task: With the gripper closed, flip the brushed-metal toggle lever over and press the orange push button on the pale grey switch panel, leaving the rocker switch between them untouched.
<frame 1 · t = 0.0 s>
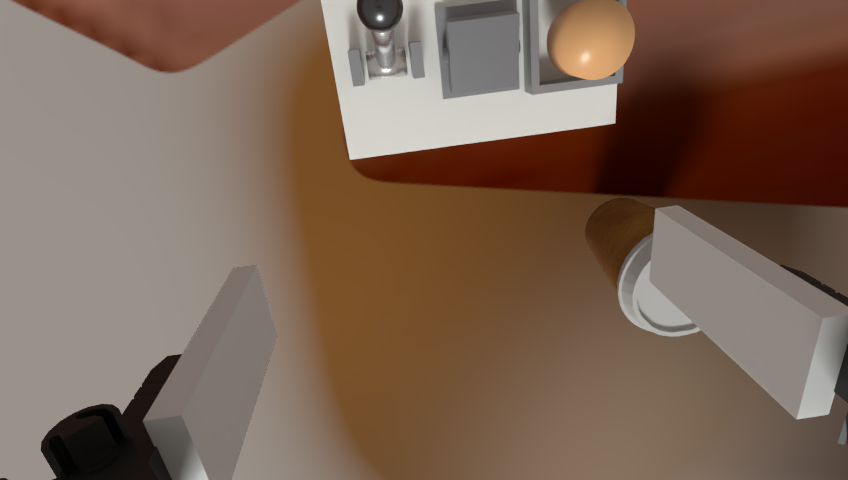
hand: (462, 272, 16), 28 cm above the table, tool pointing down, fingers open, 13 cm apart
toggle lever: (383, 38, 31), point 8 cm above the table, hinge at -25.0°
rocker switch: (482, 52, 36), point 5 cm above the table, hinge at 12.0°
disposable coffee cup: (615, 227, 48), on the table
switch panel: (470, 48, 40), on the table
push button: (589, 39, 34), point 7 cm above the table, slide at 0.0 cm
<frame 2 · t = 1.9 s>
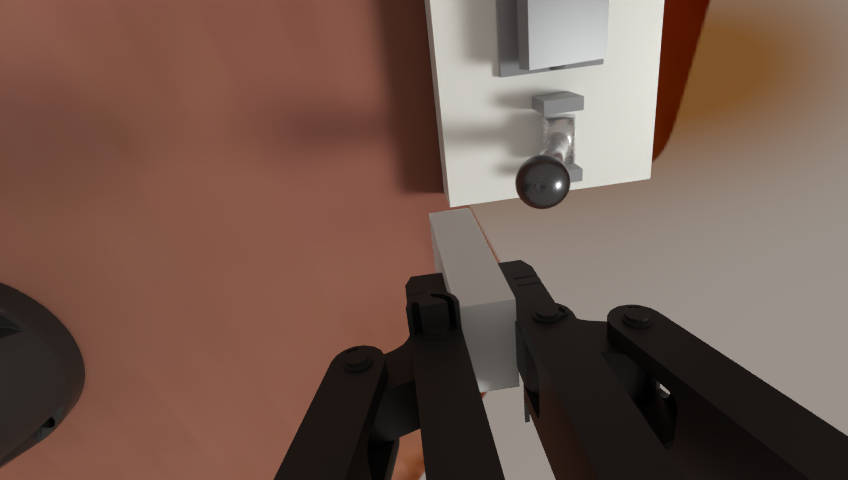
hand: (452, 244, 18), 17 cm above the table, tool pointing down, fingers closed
toggle lever: (551, 158, 27), point 8 cm above the table, hinge at -25.0°
rocker switch: (560, 16, 27), point 5 cm above the table, hinge at 12.0°
switch panel: (534, 18, 32), on the table
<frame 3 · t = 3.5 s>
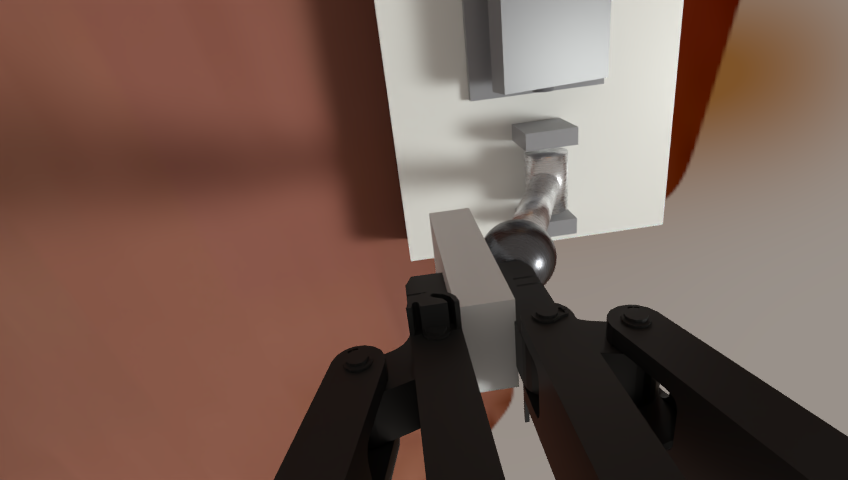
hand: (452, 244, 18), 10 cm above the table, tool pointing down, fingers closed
toggle lever: (533, 213, 20), point 8 cm above the table, hinge at -25.0°, touching gripper
rocker switch: (547, 22, 21), point 5 cm above the table, hinge at 12.0°
switch panel: (516, 23, 25), on the table
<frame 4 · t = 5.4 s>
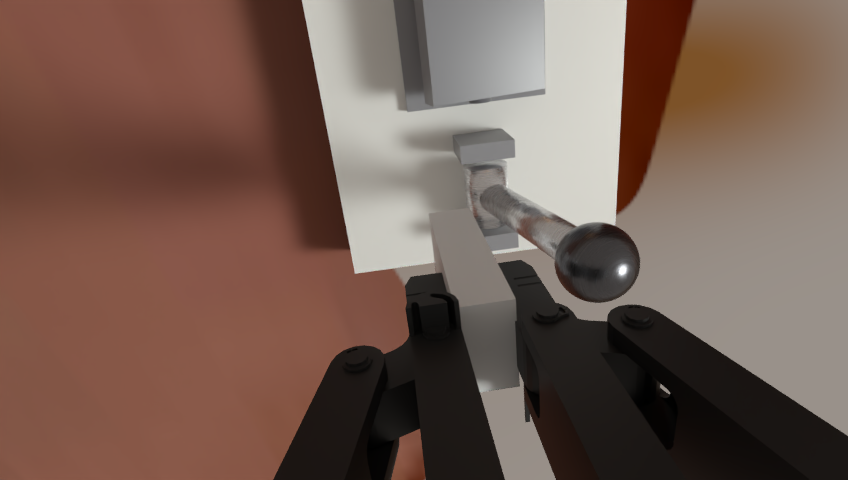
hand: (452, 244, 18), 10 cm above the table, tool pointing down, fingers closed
toggle lever: (533, 222, 19), point 9 cm above the table, hinge at 14.0°
rocker switch: (478, 32, 20), point 5 cm above the table, hinge at 12.0°
switch panel: (460, 31, 24), on the table
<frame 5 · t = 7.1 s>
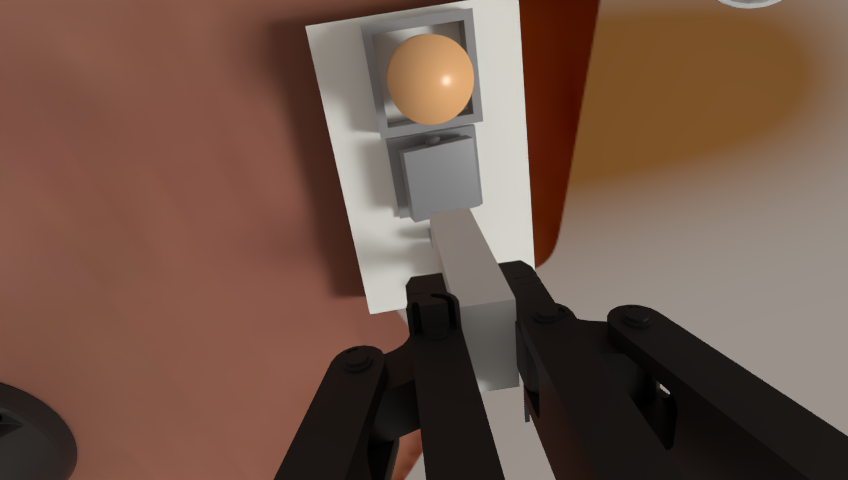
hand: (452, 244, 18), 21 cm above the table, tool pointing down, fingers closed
rocker switch: (439, 177, 35), point 5 cm above the table, hinge at 12.0°
switch panel: (430, 161, 39), on the table
push button: (428, 78, 30), point 7 cm above the table, slide at 0.0 cm
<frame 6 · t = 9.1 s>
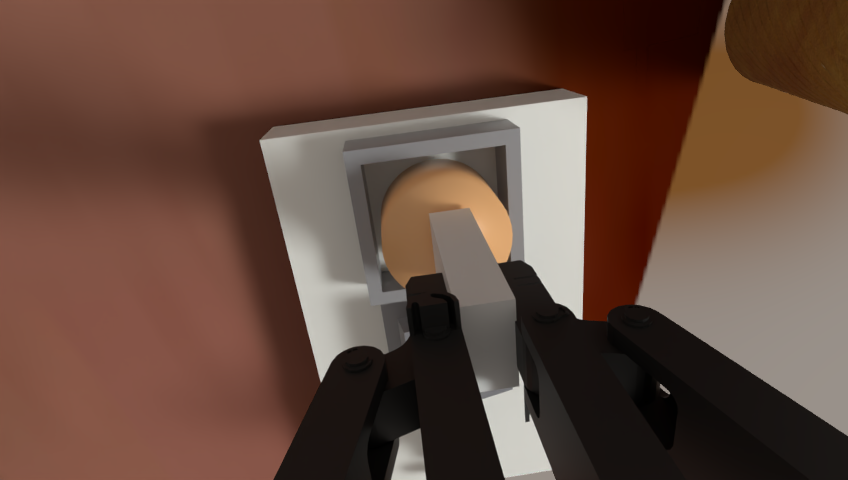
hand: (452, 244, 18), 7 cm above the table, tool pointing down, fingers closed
rocker switch: (455, 352, 24), point 5 cm above the table, hinge at 12.0°
disposable coffee cup: (784, 15, 23), on the table
switch panel: (442, 303, 28), on the table
push button: (442, 228, 20), point 6 cm above the table, slide at 1.4 cm, touching gripper
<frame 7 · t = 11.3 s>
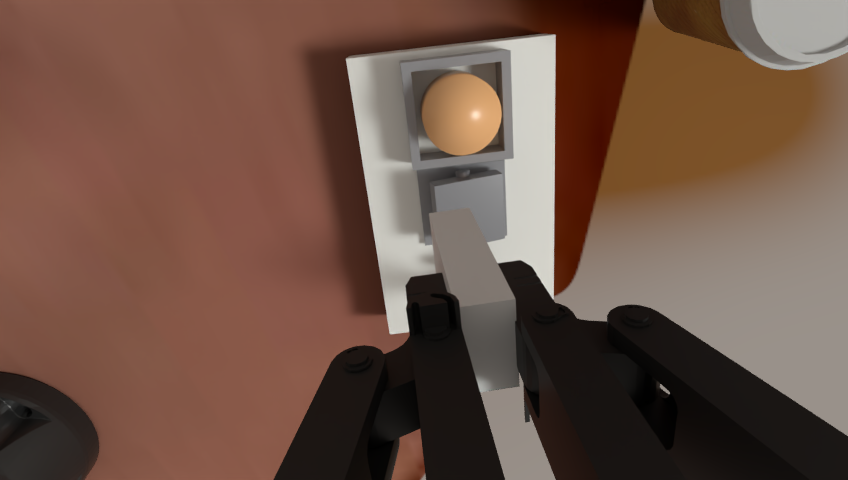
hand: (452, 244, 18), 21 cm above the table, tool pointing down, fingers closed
rocker switch: (467, 209, 35), point 5 cm above the table, hinge at 12.0°
switch panel: (457, 189, 40), on the table
push button: (459, 112, 32), point 5 cm above the table, slide at 2.1 cm
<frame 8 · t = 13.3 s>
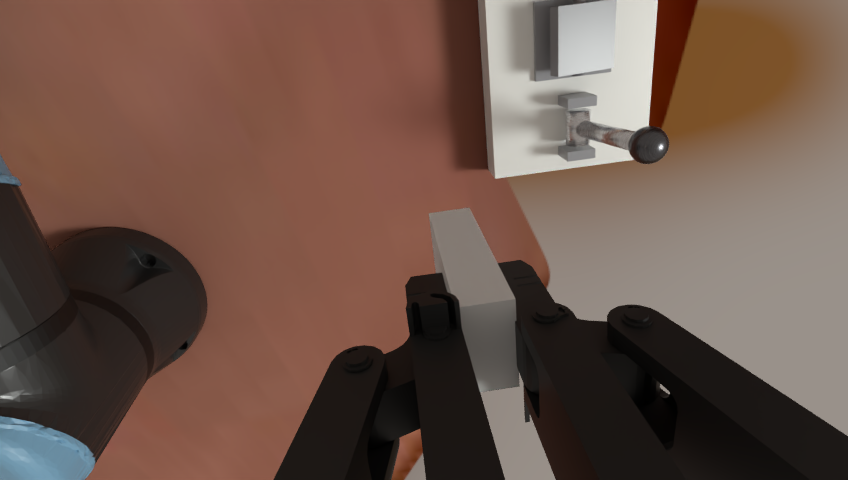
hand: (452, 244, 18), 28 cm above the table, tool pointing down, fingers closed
toggle lever: (611, 135, 38), point 9 cm above the table, hinge at 13.9°
rocker switch: (580, 38, 38), point 5 cm above the table, hinge at 12.0°
switch panel: (559, 37, 43), on the table
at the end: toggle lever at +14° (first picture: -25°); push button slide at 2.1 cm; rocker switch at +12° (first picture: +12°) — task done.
